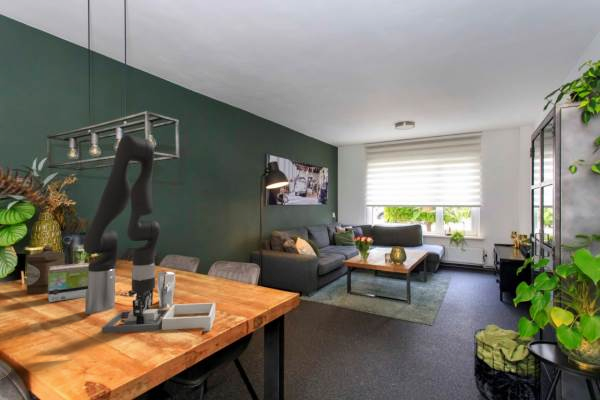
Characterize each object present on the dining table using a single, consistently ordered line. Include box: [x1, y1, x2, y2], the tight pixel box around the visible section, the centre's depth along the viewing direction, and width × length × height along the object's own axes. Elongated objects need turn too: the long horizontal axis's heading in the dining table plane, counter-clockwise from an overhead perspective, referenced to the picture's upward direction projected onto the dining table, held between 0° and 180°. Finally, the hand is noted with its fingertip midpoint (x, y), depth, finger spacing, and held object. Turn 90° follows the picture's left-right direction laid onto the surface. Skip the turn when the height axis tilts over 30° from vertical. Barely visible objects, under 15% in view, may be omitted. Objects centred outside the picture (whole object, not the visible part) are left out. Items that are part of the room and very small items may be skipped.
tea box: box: [47, 262, 90, 303], centre depth 139 cm, size 15×10×15 cm
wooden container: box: [26, 245, 66, 295], centre depth 150 cm, size 15×15×22 cm
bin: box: [161, 302, 216, 332], centre depth 110 cm, size 16×15×5 cm
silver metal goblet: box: [156, 270, 176, 309], centre depth 125 cm, size 7×7×15 cm
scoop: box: [120, 314, 162, 325], centre depth 107 cm, size 12×6×2 cm, turn 99°
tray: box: [101, 308, 170, 334], centre depth 107 cm, size 18×15×3 cm
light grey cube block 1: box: [127, 309, 139, 321], centre depth 107 cm, size 4×4×4 cm
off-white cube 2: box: [144, 308, 159, 320], centre depth 107 cm, size 4×4×4 cm
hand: (143, 322), depth 107 cm, fingers closed on scoop, 5 cm apart
